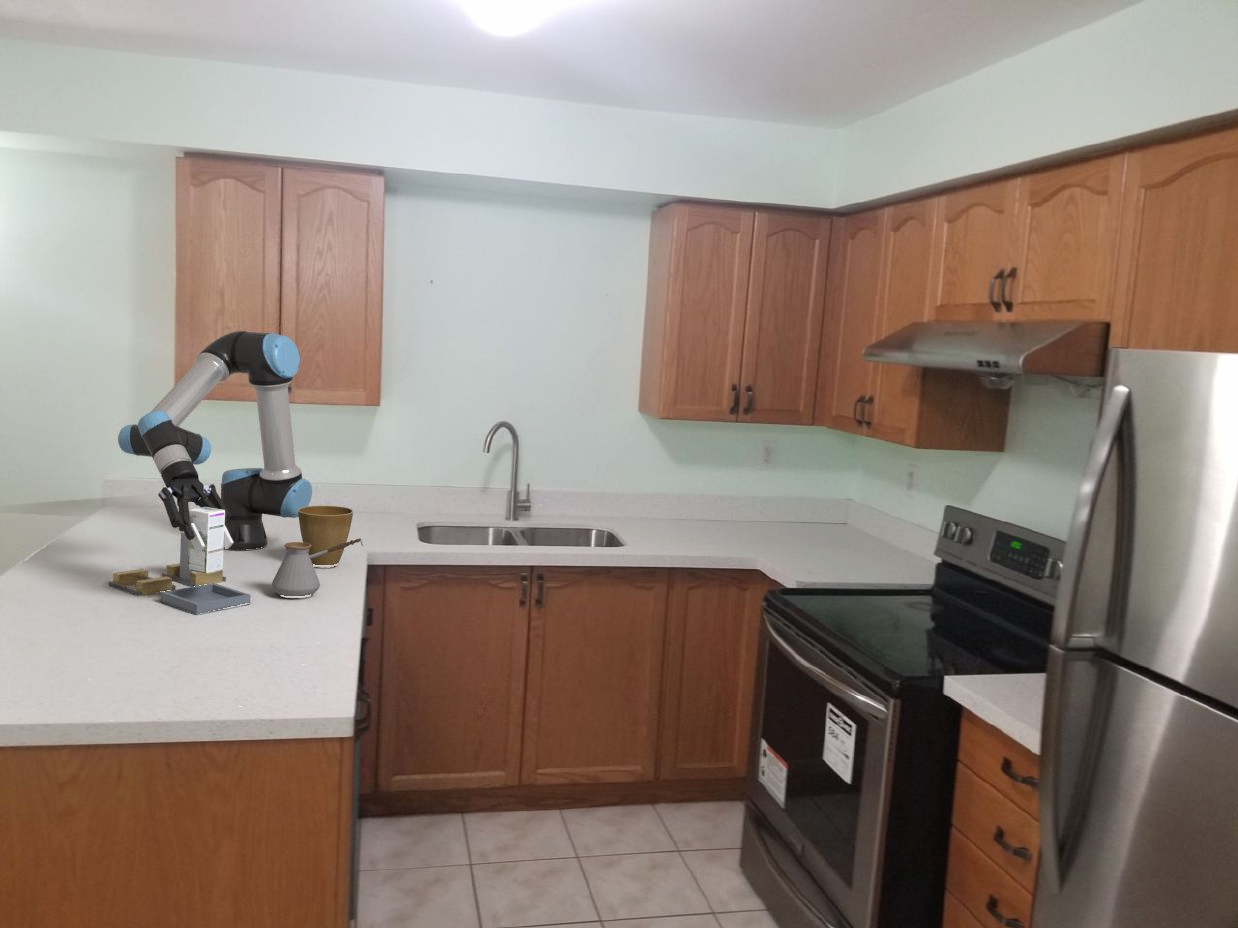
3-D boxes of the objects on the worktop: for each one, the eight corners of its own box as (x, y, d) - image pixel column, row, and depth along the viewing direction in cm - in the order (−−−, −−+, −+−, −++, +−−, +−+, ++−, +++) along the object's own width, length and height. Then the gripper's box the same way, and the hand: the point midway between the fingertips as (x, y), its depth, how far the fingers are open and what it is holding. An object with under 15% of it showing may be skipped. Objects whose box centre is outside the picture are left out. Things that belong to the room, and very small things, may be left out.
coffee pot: (268, 600, 239) (271, 540, 237) (273, 589, 250) (276, 530, 248) (359, 602, 244) (363, 543, 242) (360, 591, 255) (364, 533, 253)
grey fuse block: (197, 576, 256) (198, 526, 255) (209, 579, 254) (210, 529, 252) (179, 578, 252) (181, 528, 251) (191, 582, 249) (193, 532, 248)
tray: (213, 592, 242) (214, 583, 242) (250, 604, 234) (250, 594, 234) (160, 602, 230) (160, 592, 230) (196, 615, 223) (197, 604, 223)
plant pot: (312, 557, 287) (314, 503, 285) (359, 563, 284) (362, 509, 283) (284, 567, 273) (287, 510, 271) (334, 574, 270) (337, 516, 268)
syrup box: (223, 569, 233) (226, 509, 231) (205, 574, 227) (208, 512, 226) (204, 566, 235) (206, 505, 233) (185, 570, 229) (188, 508, 228)
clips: (196, 571, 260) (197, 560, 260) (225, 581, 254) (226, 569, 253) (162, 577, 252) (162, 565, 252) (191, 586, 246) (192, 575, 245)
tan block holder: (146, 579, 249) (146, 568, 248) (175, 589, 242) (175, 577, 242) (108, 585, 241) (109, 573, 240) (137, 595, 234) (138, 583, 234)
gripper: (206, 475, 245) (244, 552, 238) (130, 480, 229) (168, 562, 222) (220, 457, 242) (259, 534, 235) (144, 460, 225) (183, 543, 218)
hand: (215, 547), depth 228 cm, fingers closed on syrup box, 7 cm apart
